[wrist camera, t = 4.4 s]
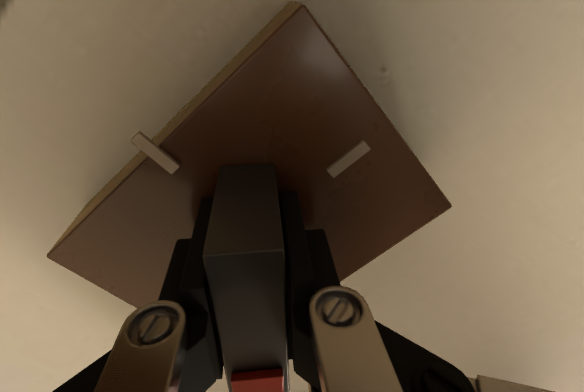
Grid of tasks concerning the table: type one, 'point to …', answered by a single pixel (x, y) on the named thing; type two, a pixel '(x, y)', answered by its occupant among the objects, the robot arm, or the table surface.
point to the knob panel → (259, 150)
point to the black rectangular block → (248, 278)
